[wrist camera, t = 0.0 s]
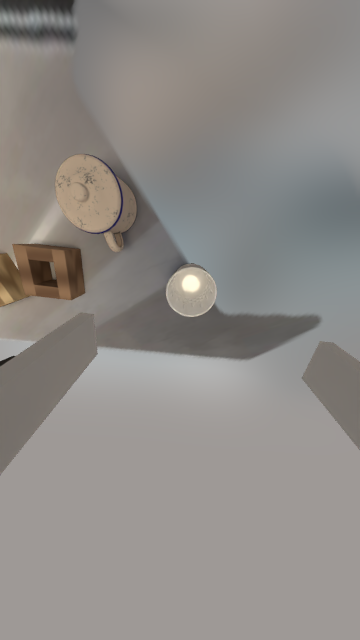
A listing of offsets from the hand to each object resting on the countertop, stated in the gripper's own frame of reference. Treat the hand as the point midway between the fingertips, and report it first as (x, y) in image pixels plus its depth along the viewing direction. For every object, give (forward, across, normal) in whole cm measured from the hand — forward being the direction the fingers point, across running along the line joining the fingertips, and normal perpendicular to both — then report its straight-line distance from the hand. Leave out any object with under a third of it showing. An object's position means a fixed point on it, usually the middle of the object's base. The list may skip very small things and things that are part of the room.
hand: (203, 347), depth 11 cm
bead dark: (+28, -27, -3) cm, 39 cm away
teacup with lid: (+28, -15, +8) cm, 33 cm away
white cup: (+28, 0, -2) cm, 28 cm away
